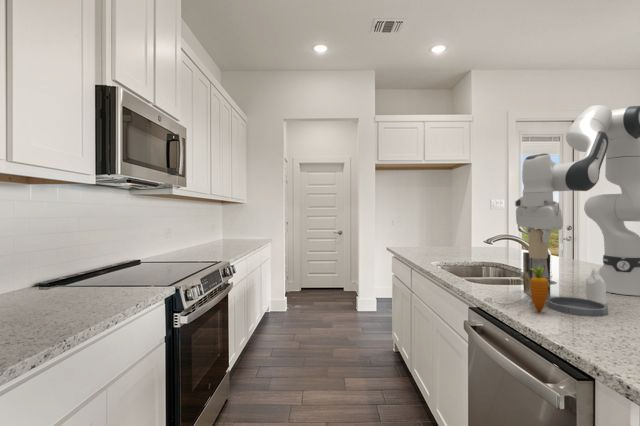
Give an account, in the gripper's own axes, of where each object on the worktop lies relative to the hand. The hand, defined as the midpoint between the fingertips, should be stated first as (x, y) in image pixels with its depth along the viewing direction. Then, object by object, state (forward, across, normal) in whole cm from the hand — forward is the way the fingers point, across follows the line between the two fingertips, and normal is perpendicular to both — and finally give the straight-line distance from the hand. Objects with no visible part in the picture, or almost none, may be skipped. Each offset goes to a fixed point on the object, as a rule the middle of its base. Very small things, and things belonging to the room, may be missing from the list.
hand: (538, 241), depth 118 cm
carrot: (+22, -9, +6) cm, 24 cm away
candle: (+6, 0, 0) cm, 6 cm away
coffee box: (+23, +14, -8) cm, 28 cm away
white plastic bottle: (+23, +3, -22) cm, 32 cm away
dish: (+22, -5, -9) cm, 24 cm away
